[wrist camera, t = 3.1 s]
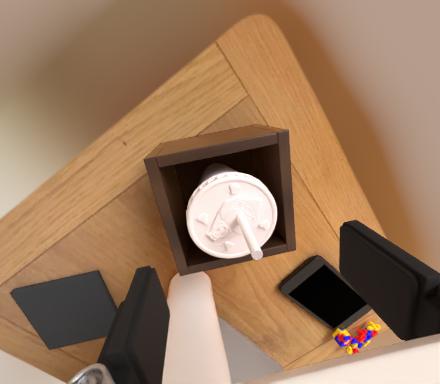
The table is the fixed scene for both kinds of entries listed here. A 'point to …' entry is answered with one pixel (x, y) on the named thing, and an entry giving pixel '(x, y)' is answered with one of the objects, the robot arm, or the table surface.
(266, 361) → the alarm clock
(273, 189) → the holder
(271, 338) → the table surface
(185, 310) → the drinking glass
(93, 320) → the mat
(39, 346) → the table surface
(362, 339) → the building blocks
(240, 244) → the smoothie
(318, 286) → the smartphone
